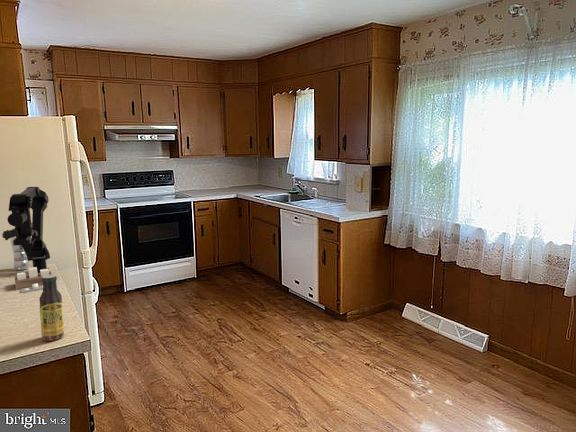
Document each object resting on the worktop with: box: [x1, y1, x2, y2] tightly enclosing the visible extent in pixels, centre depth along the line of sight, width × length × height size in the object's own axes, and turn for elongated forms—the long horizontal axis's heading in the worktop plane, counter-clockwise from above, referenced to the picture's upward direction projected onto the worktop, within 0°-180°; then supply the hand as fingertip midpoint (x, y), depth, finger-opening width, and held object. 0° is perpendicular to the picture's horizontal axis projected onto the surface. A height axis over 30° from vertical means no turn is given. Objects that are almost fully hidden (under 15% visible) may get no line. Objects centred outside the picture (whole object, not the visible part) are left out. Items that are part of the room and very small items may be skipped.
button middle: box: [27, 266, 38, 278], centre depth 189 cm, size 3×3×5 cm
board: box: [14, 270, 53, 291], centre depth 190 cm, size 10×14×4 cm
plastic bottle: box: [10, 236, 30, 271], centre depth 213 cm, size 6×7×20 cm
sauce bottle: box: [39, 274, 65, 342], centre depth 133 cm, size 6×6×20 cm
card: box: [20, 283, 43, 294], centre depth 183 cm, size 4×10×2 cm, turn 123°
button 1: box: [16, 271, 27, 280], centre depth 187 cm, size 3×3×5 cm
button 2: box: [40, 268, 50, 276], centre depth 192 cm, size 3×3×5 cm
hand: (28, 255), depth 194 cm, fingers closed
